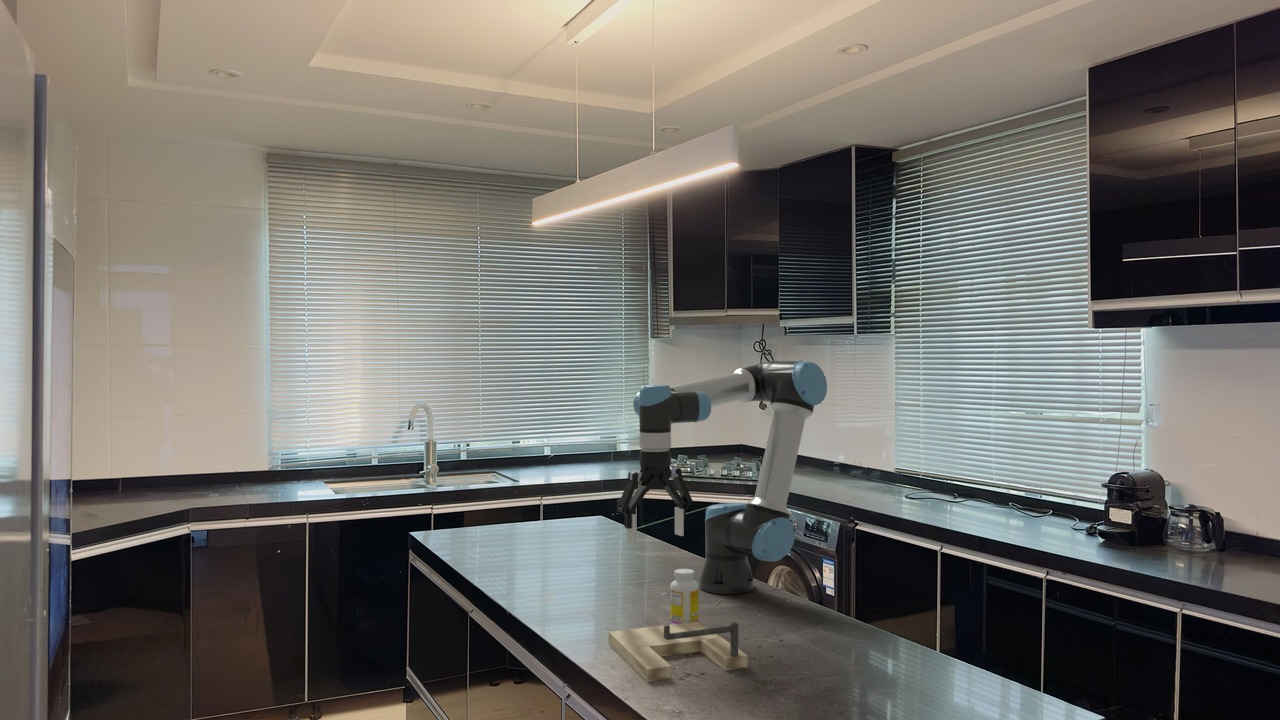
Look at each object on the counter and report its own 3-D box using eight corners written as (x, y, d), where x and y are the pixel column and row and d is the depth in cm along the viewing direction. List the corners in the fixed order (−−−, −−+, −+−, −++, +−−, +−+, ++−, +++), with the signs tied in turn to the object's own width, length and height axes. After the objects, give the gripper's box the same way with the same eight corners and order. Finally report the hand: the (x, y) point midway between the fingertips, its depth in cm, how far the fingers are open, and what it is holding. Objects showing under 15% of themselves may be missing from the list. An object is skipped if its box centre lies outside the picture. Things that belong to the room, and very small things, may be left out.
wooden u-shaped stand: (698, 632, 197) (698, 588, 197) (747, 667, 174) (747, 617, 174) (608, 643, 189) (608, 597, 189) (647, 681, 167) (647, 629, 167)
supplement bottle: (697, 620, 206) (697, 567, 206) (699, 629, 199) (700, 574, 199) (669, 620, 205) (669, 567, 205) (671, 629, 199) (671, 574, 199)
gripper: (688, 444, 213) (689, 529, 213) (602, 451, 199) (602, 541, 199) (706, 447, 206) (707, 534, 206) (618, 454, 193) (619, 548, 193)
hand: (655, 538), depth 203 cm, fingers open, 13 cm apart
